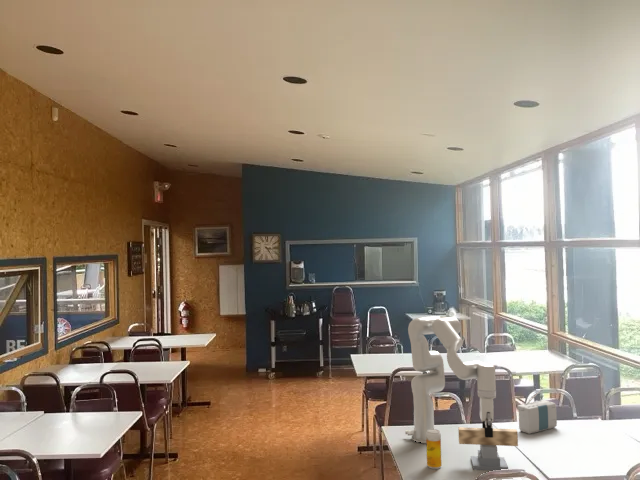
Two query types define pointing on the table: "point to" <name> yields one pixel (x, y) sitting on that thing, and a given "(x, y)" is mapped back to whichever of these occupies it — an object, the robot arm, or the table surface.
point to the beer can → (433, 448)
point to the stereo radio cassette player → (537, 416)
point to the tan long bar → (478, 437)
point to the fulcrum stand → (488, 459)
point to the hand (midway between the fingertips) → (487, 433)
